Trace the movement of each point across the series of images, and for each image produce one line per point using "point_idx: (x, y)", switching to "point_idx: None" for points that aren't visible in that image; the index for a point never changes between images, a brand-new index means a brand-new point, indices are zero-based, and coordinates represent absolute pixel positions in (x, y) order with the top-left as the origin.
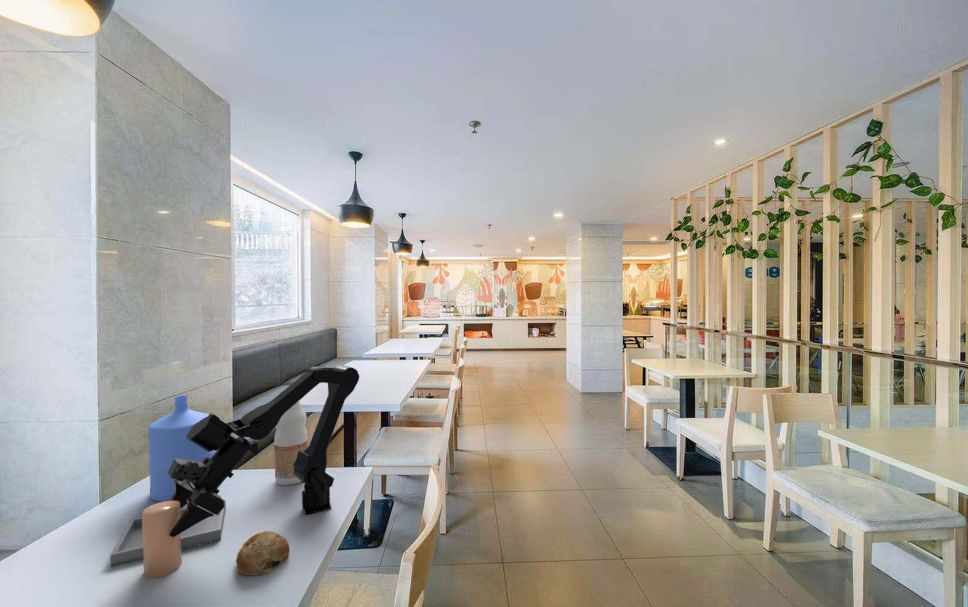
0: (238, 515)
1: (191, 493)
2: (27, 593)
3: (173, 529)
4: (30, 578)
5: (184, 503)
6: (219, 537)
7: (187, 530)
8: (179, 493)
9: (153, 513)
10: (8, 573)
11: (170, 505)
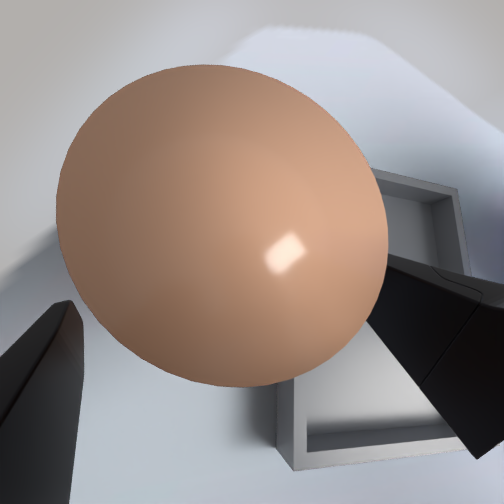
0: (411, 486)
1: (493, 423)
2: (259, 46)
3: (26, 331)
4: (314, 53)
5: (407, 358)
6: (279, 448)
7: (371, 329)
8: (494, 336)
9: (155, 135)
10: (350, 32)
11: (269, 283)
